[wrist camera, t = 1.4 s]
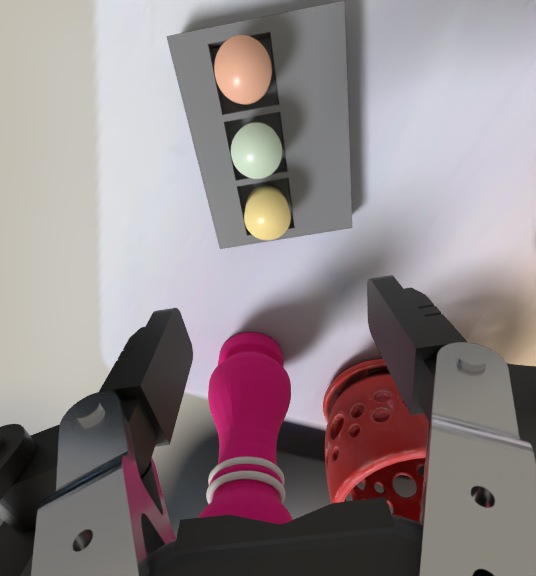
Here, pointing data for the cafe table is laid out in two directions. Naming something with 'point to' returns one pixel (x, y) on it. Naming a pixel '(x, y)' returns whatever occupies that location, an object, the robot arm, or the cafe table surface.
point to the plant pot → (372, 438)
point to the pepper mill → (248, 429)
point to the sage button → (256, 150)
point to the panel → (274, 119)
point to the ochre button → (267, 213)
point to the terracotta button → (243, 69)
